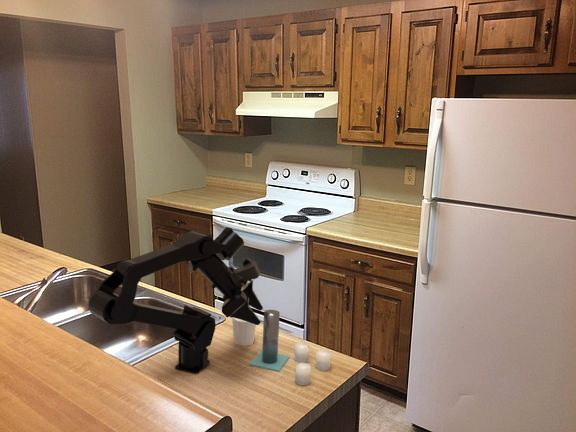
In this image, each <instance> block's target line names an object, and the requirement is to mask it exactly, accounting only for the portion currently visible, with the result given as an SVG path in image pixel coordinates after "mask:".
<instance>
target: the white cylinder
mask: <svg viewBox="0 0 576 432" xmlns="http://www.w3.org/2000/svg"><path fill="white" fill-rule="evenodd" d="M231 321H232V322H231V323H232V333H233V334H232V336H233V343H234V344H235V345H236V346H244V347H246V346H250V345H253V343H254V341H255V334H256V327H257V325H255V324H252V323H250V322H247V321H244V320H241V319H237V318H234V317H232V318H231Z"/></svg>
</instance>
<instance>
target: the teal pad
mask: <svg viewBox="0 0 576 432" xmlns="http://www.w3.org/2000/svg"><path fill="white" fill-rule="evenodd" d="M289 359H290V356H289V355H286V354H280V353H278V357H277V362H276V363H273V364H267V363H264V362H263V361H262V349H261V350H260V351H259V353H258V354H257V355H255V357H254V359H252V360H251V362H250V363H249V366H251V367H256V368H260V369H266V370H269V371H273V372H281V370H282V368H283V367H284V366H285V365H286V363H287V361H289Z"/></svg>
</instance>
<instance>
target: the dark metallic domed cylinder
mask: <svg viewBox="0 0 576 432" xmlns="http://www.w3.org/2000/svg"><path fill="white" fill-rule="evenodd" d="M280 314H281V313H280V311H279V310H277V309H266V310H264V311H263V323H262V324H263V327H262V329H263V330H262V346H261V347H262V349H261V350H262V361H263V362H264V363H267V364H273V363H276V362H277V357H278V354H279V332H280Z"/></svg>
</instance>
